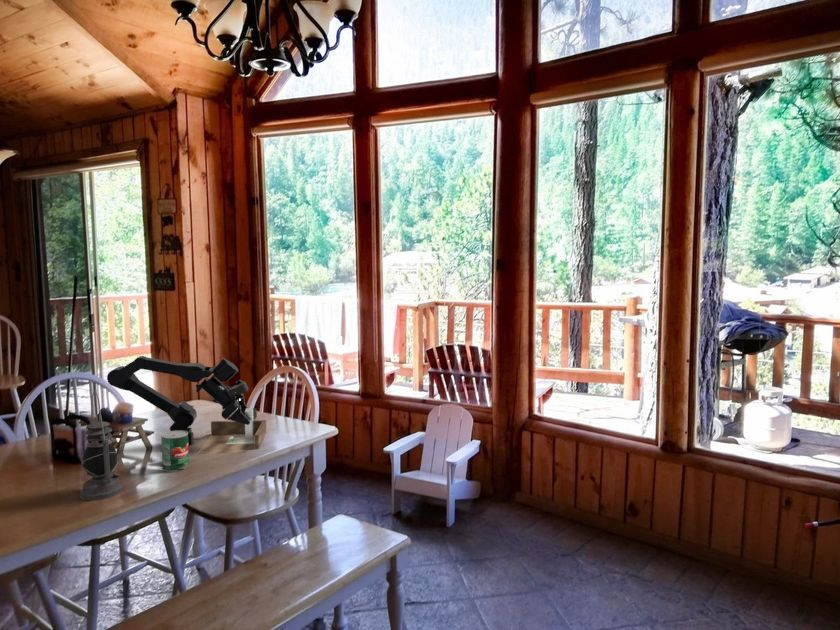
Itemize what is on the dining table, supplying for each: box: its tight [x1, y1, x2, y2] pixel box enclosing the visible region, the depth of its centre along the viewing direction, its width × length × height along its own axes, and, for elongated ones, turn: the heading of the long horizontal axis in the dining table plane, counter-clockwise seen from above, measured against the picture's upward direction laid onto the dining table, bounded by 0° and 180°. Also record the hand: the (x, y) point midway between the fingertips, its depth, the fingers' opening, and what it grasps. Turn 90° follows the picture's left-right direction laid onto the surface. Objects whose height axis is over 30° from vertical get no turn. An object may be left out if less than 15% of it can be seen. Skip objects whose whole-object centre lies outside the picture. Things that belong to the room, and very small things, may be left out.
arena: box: [196, 419, 267, 455], centre depth 202 cm, size 20×21×6 cm
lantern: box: [79, 389, 123, 501], centre depth 161 cm, size 12×11×30 cm
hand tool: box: [252, 407, 258, 420], centre depth 228 cm, size 19×4×5 cm, turn 164°
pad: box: [226, 436, 255, 444], centre depth 205 cm, size 10×8×1 cm
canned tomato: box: [160, 430, 190, 473], centre depth 181 cm, size 8×8×11 cm
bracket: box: [233, 407, 254, 443], centre depth 204 cm, size 7×4×11 cm
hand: (250, 420), depth 205 cm, fingers open, 9 cm apart
